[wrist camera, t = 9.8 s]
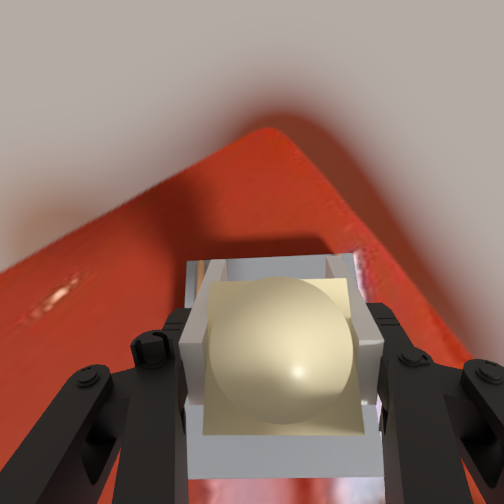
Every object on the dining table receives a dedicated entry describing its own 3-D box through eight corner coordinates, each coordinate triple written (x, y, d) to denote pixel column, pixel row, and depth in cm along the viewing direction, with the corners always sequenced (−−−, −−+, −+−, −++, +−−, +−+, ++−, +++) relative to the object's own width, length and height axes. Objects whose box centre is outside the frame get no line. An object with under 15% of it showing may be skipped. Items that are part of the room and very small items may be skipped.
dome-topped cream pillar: (233, 413, 18) (185, 446, 8) (234, 320, 20) (197, 263, 10) (327, 413, 17) (385, 447, 8) (319, 319, 19) (359, 258, 10)
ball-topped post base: (188, 467, 29) (171, 483, 24) (196, 273, 36) (184, 257, 31) (372, 464, 28) (390, 480, 24) (344, 266, 35) (355, 249, 30)
